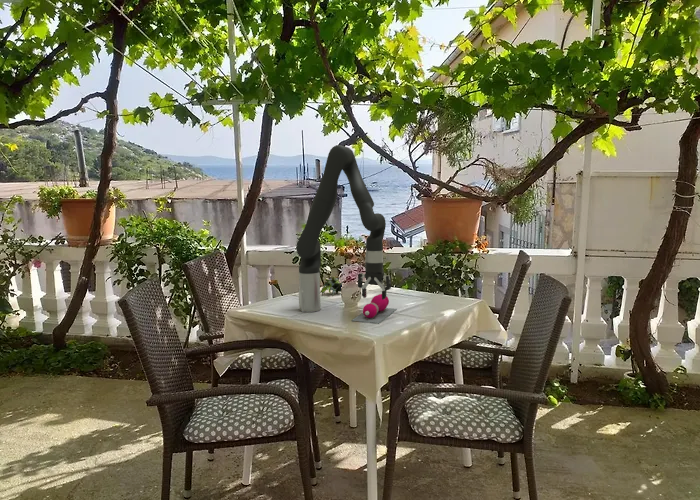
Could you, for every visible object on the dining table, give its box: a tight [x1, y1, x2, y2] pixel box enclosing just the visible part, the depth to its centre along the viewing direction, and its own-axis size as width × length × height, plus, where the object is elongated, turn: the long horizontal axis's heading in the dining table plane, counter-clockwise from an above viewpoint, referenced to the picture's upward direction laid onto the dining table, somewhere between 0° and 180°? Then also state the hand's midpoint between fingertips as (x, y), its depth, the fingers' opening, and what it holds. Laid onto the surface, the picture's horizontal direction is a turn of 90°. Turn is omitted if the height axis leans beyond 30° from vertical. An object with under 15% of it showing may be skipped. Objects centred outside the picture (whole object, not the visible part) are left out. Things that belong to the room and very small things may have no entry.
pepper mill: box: [362, 293, 390, 318], centre depth 219 cm, size 7×7×20 cm
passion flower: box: [320, 275, 343, 297], centre depth 261 cm, size 11×11×12 cm
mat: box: [351, 307, 398, 325], centre depth 220 cm, size 24×12×1 cm, turn 157°
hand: (374, 298), depth 219 cm, fingers open, 8 cm apart
